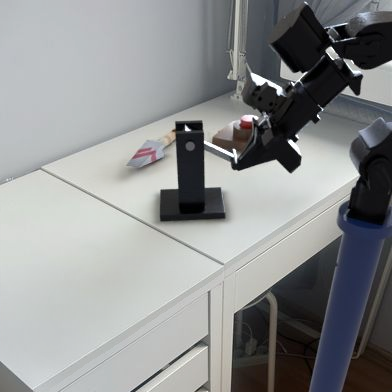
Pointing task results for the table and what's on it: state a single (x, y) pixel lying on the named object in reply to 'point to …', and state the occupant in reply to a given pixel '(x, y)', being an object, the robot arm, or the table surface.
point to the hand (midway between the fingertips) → (235, 168)
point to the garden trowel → (151, 151)
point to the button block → (232, 136)
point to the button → (247, 121)
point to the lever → (219, 151)
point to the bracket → (191, 180)
